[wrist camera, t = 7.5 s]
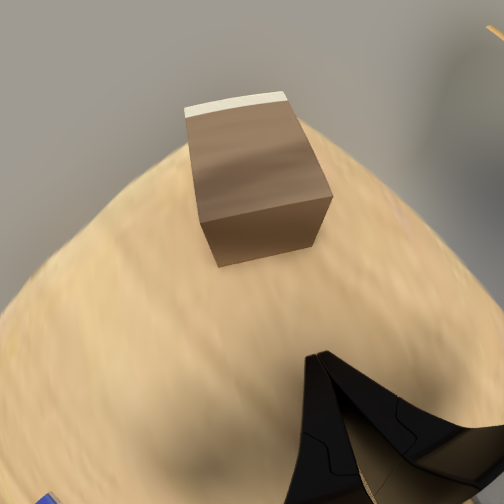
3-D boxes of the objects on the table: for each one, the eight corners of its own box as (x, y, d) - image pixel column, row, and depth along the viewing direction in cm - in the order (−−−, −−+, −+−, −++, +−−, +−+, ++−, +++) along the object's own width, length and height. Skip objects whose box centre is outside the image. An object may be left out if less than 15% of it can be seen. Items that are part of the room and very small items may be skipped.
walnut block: (333, 195, 12) (282, 91, 15) (199, 223, 12) (184, 107, 15) (311, 246, 18) (278, 152, 21) (218, 267, 17) (200, 167, 20)
